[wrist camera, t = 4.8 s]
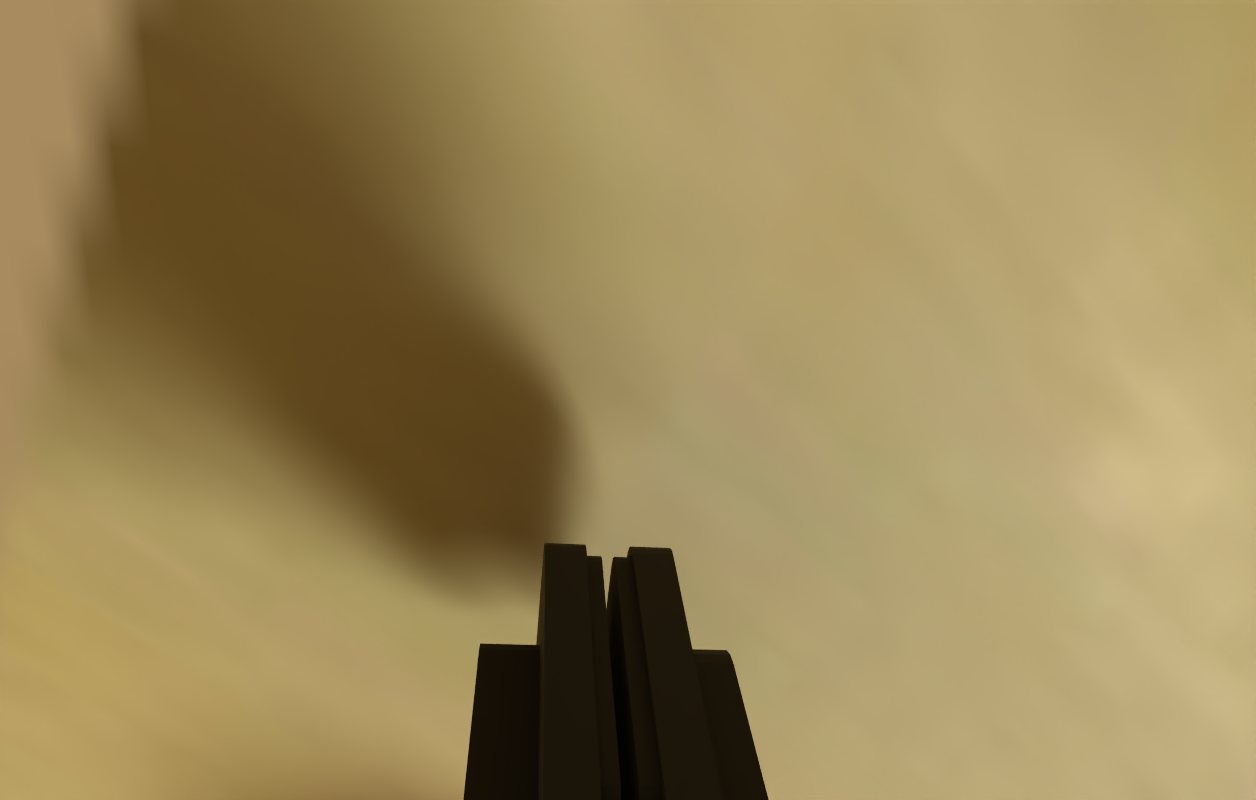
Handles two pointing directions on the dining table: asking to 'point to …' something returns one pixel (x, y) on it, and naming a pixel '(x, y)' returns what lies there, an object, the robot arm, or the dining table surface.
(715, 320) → the dining table surface
